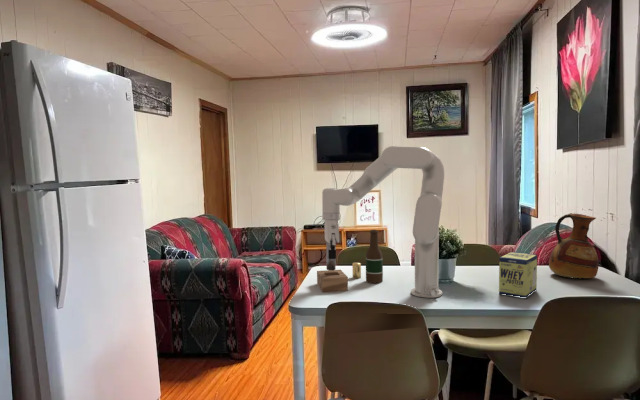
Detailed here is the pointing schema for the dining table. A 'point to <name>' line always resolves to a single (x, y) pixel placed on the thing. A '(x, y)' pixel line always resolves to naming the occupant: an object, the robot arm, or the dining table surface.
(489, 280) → the dining table surface
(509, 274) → the protein box
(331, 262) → the long steel pin
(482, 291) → the dining table surface
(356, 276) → the short brass pin
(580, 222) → the ceramic pitcher
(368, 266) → the beer bottle
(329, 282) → the walnut hole block
